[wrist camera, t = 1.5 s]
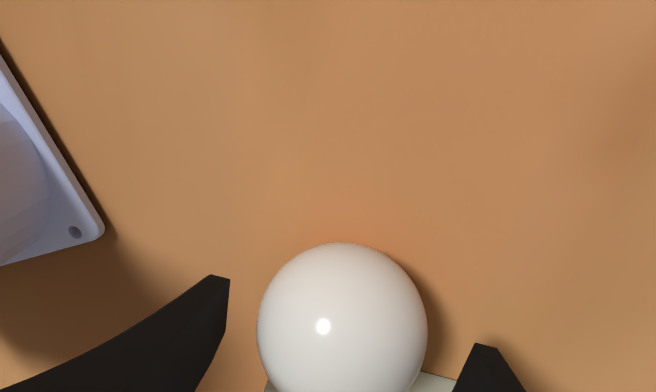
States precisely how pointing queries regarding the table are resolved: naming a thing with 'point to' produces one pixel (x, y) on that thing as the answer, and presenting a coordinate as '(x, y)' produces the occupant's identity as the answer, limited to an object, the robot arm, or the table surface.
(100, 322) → the table surface
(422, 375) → the carton
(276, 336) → the white egg
